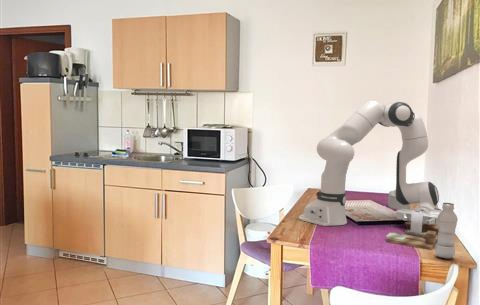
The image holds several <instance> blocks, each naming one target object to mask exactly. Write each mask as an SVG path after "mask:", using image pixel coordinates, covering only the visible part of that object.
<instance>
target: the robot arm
mask: <svg viewBox="0 0 480 305" xmlns="http://www.w3.org/2000/svg"><path fill="white" fill-rule="evenodd" d="M377 124H379V125H381V126H383V127H385V128H386V127H387V128H389V127H390V128H391V127H396V128H398V129H399V132H400V133H401V134H400V135H401V141H402V145H401V149H400V150H399V151H398V152H397V155H396V165H395V166H396V172H395V173H396V175H395V176H396V182H395V190H396V192H395V196H396V200H397V201H398V202H399V203H401V204H402V205H408V204H409V205H414V204H418V205H417V206H416V207H414V209H410V208H409V209H396V212H395V219H398V220H403V221H404V222H405V221H406V222H407V221H410V222H411V214H412V211H413V210H417V211H422V212H423V220H422V226H424V225H435V226H438V215H439V213H440V212H441V211H442V210H443V209H440V208H439V205H438V203H439V202H440V194H439V190H438V188H437V186H436V185H435V184H434V183H432V182H431V181H422V182H421V181H420V182H413V183H412V182H411V183H407V166H408V164H409V163H410V162H411V161H413V160H415V159H417V158H419V157H422V155H423V154H424V153H426V151H427V150H428V147H429V138H428V134H427V129H426V125H425V123H424V121H423V118H422V117H421V116H420V115H419V114H415V113H414V111H413V109H412V107H411V106H410V105H409V104H408V103H407V102H402V101H397V102H389V103H387V104H383V105H382V104H381V103H380V102H379V101H377V100H374V99H373V100H369V101H367V102H365V103H364V104H363V105H361V106H360V107H358V109H357V110H356V111H355V112H354V113H353V114H352V115H351V116H350V117H349V118H348V119H347V120H346V121H344V123H343V124H342V125H341V126H339V127H338V128H336V129H335V130H334V131H332V133H330V134H329V135H328V136H326V137H324V138H322V139H321V140H320V141H319V142H318V143H317V145H316V152H317V155H318V156H319V157H320V158H321V159H322V160H324V161H326V162H325V166H324V170H323V171H322V174H321V176H320V177H321V180H320V189H319V191H318V192H316V193H315V196H316V199H314V200H312V201H311V202H309V203H308V204H306V206H305V208H304V210H303V213H302V214H300V215H298V220H299V221H303V222H307V223H310V224H311V223H312V224H315V225H319V226H322V227H329V226H343V225H346V224H347V223H348V221H347V216H346V202H347V195H346V194H347V193H346V182H347V181H346V180H347V179H346V178H347V174H348V173H347V172H348V170H349V165H350V163H351V162H352V160H353V159H354V157H355V150H354V147H353V146H354V145H355V144H357V143H360V142H361V141H363V139H364V138H365V137H366V136H367V135H368V134H369V133H370V132H371V131H372V130H373V129H374V128H375V127H376V125H377Z"/></svg>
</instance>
